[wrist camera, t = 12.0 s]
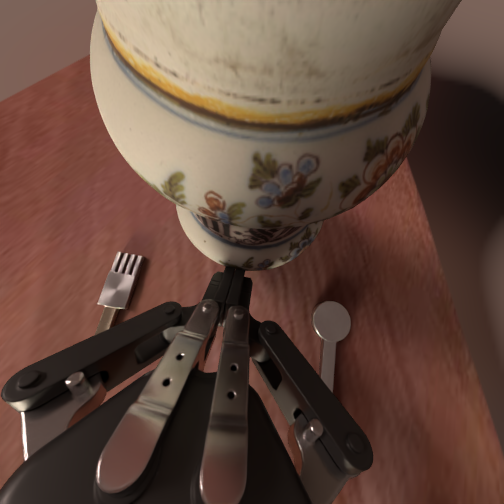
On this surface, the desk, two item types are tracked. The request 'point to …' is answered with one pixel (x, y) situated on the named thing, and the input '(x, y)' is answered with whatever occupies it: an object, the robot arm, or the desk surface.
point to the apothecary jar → (264, 109)
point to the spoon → (329, 335)
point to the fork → (118, 288)
